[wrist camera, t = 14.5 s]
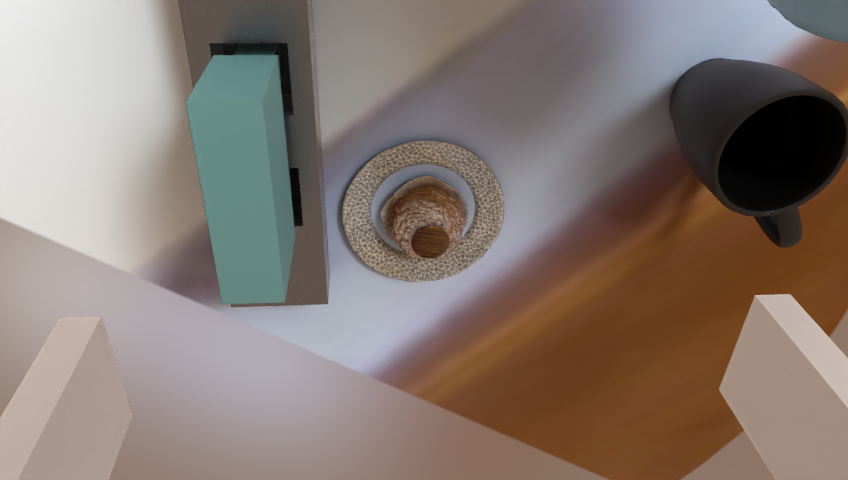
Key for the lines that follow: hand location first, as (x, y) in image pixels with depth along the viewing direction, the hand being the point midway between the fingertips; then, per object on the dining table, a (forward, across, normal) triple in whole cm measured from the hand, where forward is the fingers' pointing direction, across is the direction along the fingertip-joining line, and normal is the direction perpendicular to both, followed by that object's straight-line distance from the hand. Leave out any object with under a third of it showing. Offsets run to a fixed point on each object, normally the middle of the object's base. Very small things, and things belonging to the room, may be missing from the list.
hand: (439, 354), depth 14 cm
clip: (+32, -8, -8) cm, 34 cm away
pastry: (+32, +3, -15) cm, 36 cm away
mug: (+32, +23, -8) cm, 40 cm away
